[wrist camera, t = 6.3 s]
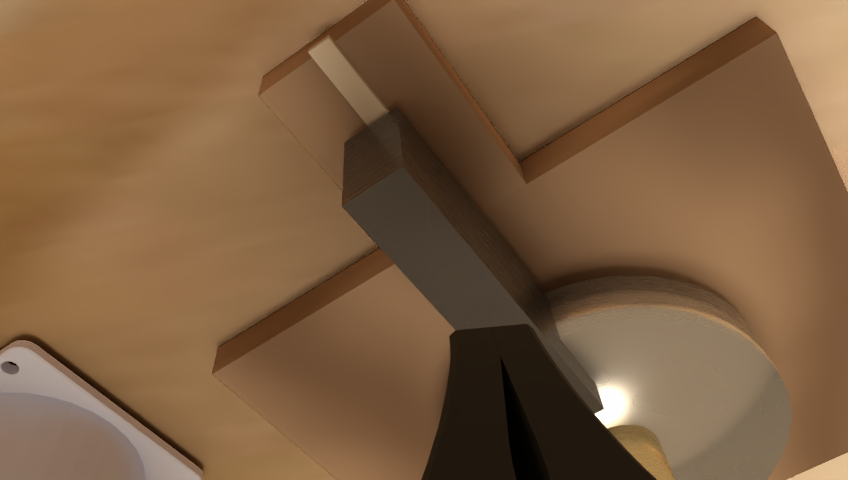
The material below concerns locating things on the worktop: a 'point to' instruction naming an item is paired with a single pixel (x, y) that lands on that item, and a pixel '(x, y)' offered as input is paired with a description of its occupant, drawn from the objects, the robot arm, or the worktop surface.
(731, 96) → the walnut stand
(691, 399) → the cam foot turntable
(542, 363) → the robot arm
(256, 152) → the worktop surface
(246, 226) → the worktop surface
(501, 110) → the worktop surface
